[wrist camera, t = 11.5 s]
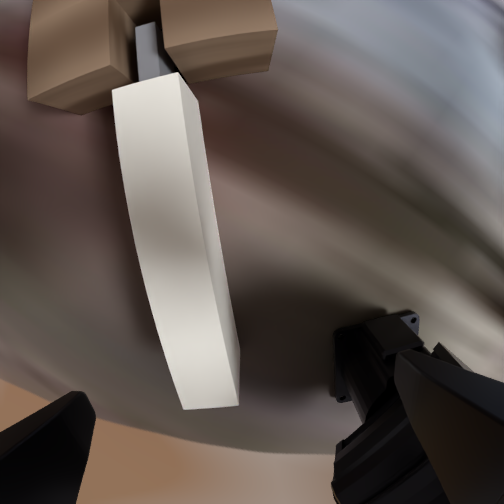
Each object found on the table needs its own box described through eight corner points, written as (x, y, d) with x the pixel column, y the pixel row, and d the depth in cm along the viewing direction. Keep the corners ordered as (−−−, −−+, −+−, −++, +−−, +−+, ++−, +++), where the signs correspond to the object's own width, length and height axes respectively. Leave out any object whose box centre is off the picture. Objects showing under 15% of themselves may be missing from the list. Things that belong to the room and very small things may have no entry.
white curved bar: (240, 348, 21) (238, 405, 15) (197, 352, 21) (183, 409, 15) (191, 51, 16) (171, 7, 10) (144, 62, 16) (108, 25, 11)
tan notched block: (268, 71, 17) (277, 29, 11) (81, 115, 17) (27, 100, 11) (242, -45, 14) (242, -99, 8) (79, -2, 14) (40, -38, 9)
